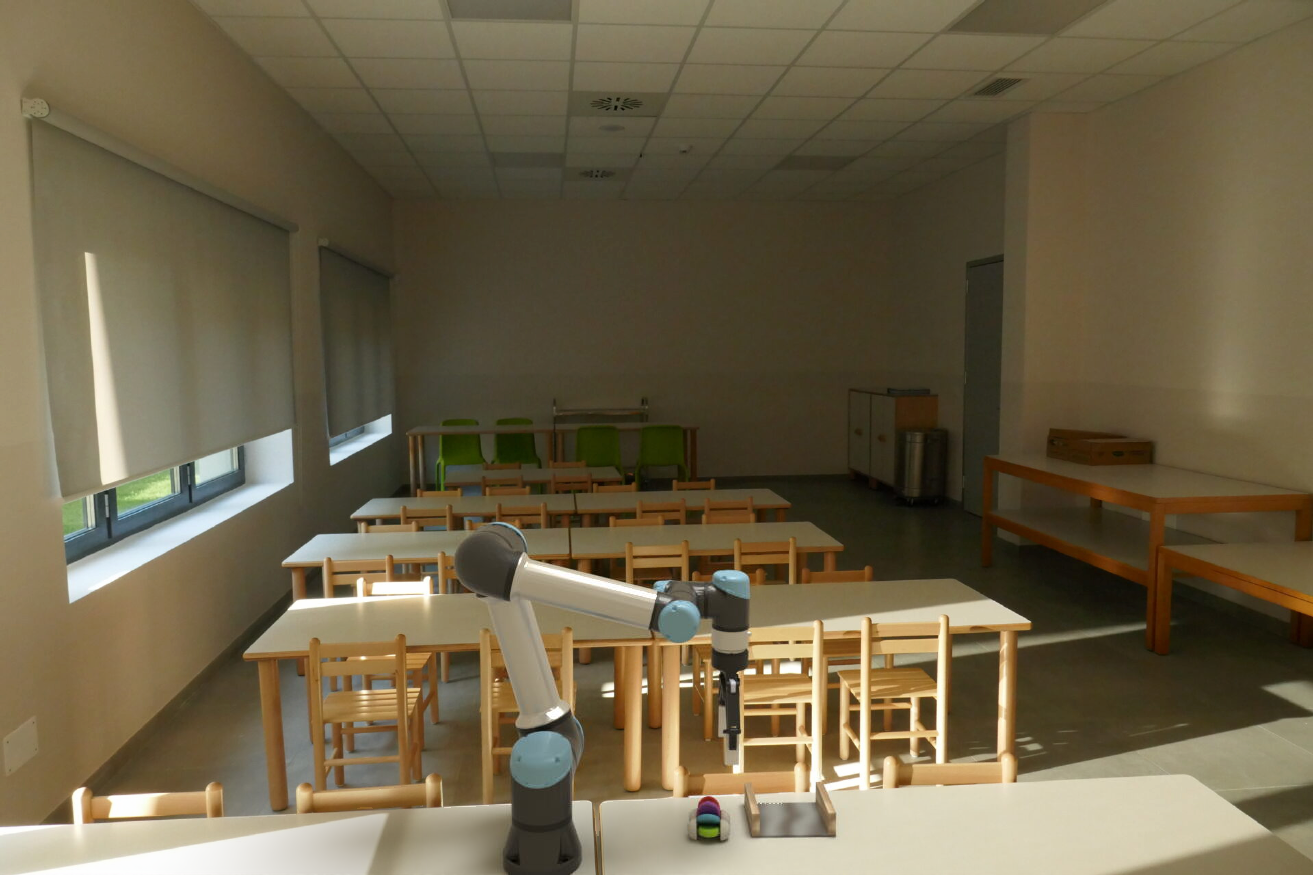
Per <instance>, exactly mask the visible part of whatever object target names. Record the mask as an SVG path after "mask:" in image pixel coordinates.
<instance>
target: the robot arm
mask: <svg viewBox="0 0 1313 875" xmlns="http://www.w3.org/2000/svg"><path fill="white" fill-rule="evenodd" d="M452 566H453V569H454V573H455V576H456V578H457V580H458V581H459V583H461V585H462V586H464V587H465V588H466V589H468V590H469V591H470V592H474V593H475V596H476V599H478V600H479V601H481V602H484V603H485V604H486V606H487V608H488V609H487V610H488V612H489V616H490V619H491V622H492V626H493V629H494V632H495V636H496V639H497V643H498V646H499V649H500V651H501V655H502V658H503V661H504V664H505V668H506V671H507V675H508V679H509V682H510V684H511V689H512V692H513V694H514V697H515V701H516V702H515V703H516V704H517V707H518V711H519V715H518V717H517V718H516V720H515V727H516V730H517V734H518V737H519V739H518V740H516V742H515V743H514V745H513V746H512V748H511V753H510V758H509V770H510V771H509V772H510V798H511V799H510V800H511V801H510V803H511V804H510V805H511V806H510V808H511V812H510V813H511V823H510V828H509V832H508V834H507V838H506V841H505V843H504V847H503V850H502V866H503V869H504V870H505V872H506V873H507V874H509V875H570V874H572V873H573V872H575V871H576V870H577V869H578V868H579V867H580V865H581V864H582V860H583V859H582V858H583V855H582V854H583V853H582V851H583V849H582V843H581V841H580V838H579V835H578V833H577V832H578V831H577V829H576V826H575V824H574V819H573V781H574V777H575V774H576V771H577V768H578V766H579V762H580V760H581V757H582V755H583V750H584V748H585V746H584V743H585V738H584V737H585V736H584V731H583V728H582V725H581V723H580V721H579V720H578V719H577V718H576V717H575V716H574V715H573V712H572V709H571V706H570V704H569V703H568V702H567V701H564V700H562V699H561V698H560V695H559V691H558V687H557V685H556V682H555V678H554V675H553V672H552V668H551V665H550V662H549V658H548V655H547V652H546V648H545V644H544V642H543V638H542V634H541V632H540V628H539V624H538V622H537V618H536V614H535V611H534V608H533V605H532V603H537V604H541V605H545V606H549V607H554V608H557V609H561V610H565V611H570V612H574V613H577V614H582V615H586V616H591V617H594V618H598V619H602V620H607V621H610V622H615V623H619V624H622V625H626V626H627V625H628V626H631V627H635V628H639V629H644V630H647V631H651V632H655V633H657V634H658V633H660V634H661V635H662V636H663V637H664V638H665V639H666V640H667V641H669V642H671V643H674V644H684V643H687V642H689V641H691V640H692V639H693V638H694V637H695V636H696V634H697V632H698V629H699V628H700V624H701V620H711V633H710V634H711V637H710V642H711V644H710V645H711V647H712V648H711V655H710V658H711V660H710V664H711V667H712V668H713V669H715V670H717V671H719V674H718V693H717V699H718V701H717V702H718V704H719V705H718V730H717V734H718V738H724V765H725V766H738V765H740V735H741V733H742V729H741V704H740V701H741V700H740V699H741V698H740V697H741V693H740V692H741V691H740V686H741V678H740V676H739V673H738V672H742V671H745V670H746V669H748V667H749V658H750V657H749V649H748V647H749V645H750V644H749V641H750V640H749V637H750V638H751V637H752V634H753V633H752V631H749V628H750V603H751V593H750V592H751V590H750V588H751V587H750V578H749V576H748V574H746V573H745V572H743V571H740V570H733V569H725V570H717V571H715V572H714V573H713V574H712V578H711V580H709V581H699V580H697V581H695V580H693V581H692V580H691V581H689V580H673V579H669V580H658V581H656V582H654V584H653V588H648V587H645V586H644V587H643V586H640V585H638V584H636V585H635V584H631V583H628V582H624V581H619V580H617V579H612V578H608V577H604V576H599V575H596V574H592V573H587V572H584V571H579V570H576V569H572V568H571V569H570V568H567V567H563V566H559V565H555V564H551V563H547V562H542V561H538V560H535V559H531V558H530V557H529V556H528V544H527V541H526V538H525V536H524V535H523V533H522V532H521V530H519V528H517V527H515V526H513V525H512V524H510V523H507V522H502V521H494V522H493V521H492V522H490V523H486V524H484V525H482V526H478V527H477V528H476V529H475V530H474V532H473V533H471V535H468V536H467V537H465V538H464V539H463V540H462V541H461V542H460V543H459V545H458V547H457V548H456V550H455V552H454V555H453V565H452Z"/></svg>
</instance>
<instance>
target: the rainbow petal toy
mask: <svg viewBox="0 0 1313 875" xmlns="http://www.w3.org/2000/svg"><path fill="white" fill-rule="evenodd" d="M730 826H731V816H730V813H729V812H728V811H727V810H725V809H721V806H720V802H719V801H718V800H717V799H716V798H715V797H713V796H712V795H707V796H704V797H702V798H701V799H700V800H699V801H698V803H697V808H693V809H692V810H690V812H689V813H688V823H687V834H688V836H689V837H690V839H692V840H695V841H696V840H697V839H698V835H700V836H701V837H704V838H714V837H717V836H720V841H724V840H727V839H728V838H729V836H730V834H731V833H730V831H731V830H730V829H731V828H730Z"/></svg>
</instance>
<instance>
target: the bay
mask: <svg viewBox="0 0 1313 875" xmlns="http://www.w3.org/2000/svg"><path fill="white" fill-rule="evenodd" d="M743 791H744V794H743V796H744V804H745V805H744V808H746V809H745V813H746V812H747V814H746V818H747V817H748V818H747V821H748V826H749V830H750V835H751V838H830V837H831V838H833V837H834V838H836V837H837V829H836V828H837V812H836V809H835V807H834V804H833V802H832V800H831V798H830V795H829V793H828V790H827V789H826V786H825V783H824V782H823V781H815V801H812V802H810V801H809V802H807V801H806V802H803V801H802V802H757V798H756V795H755V790H754V787H753V783H752V782H744V790H743ZM757 803H758V804H757ZM760 803H762V804H760ZM765 803H766V804H765ZM769 803H771V804H769ZM773 803H775V804H773ZM777 803H779V804H777ZM781 803H782V804H781Z"/></svg>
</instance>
